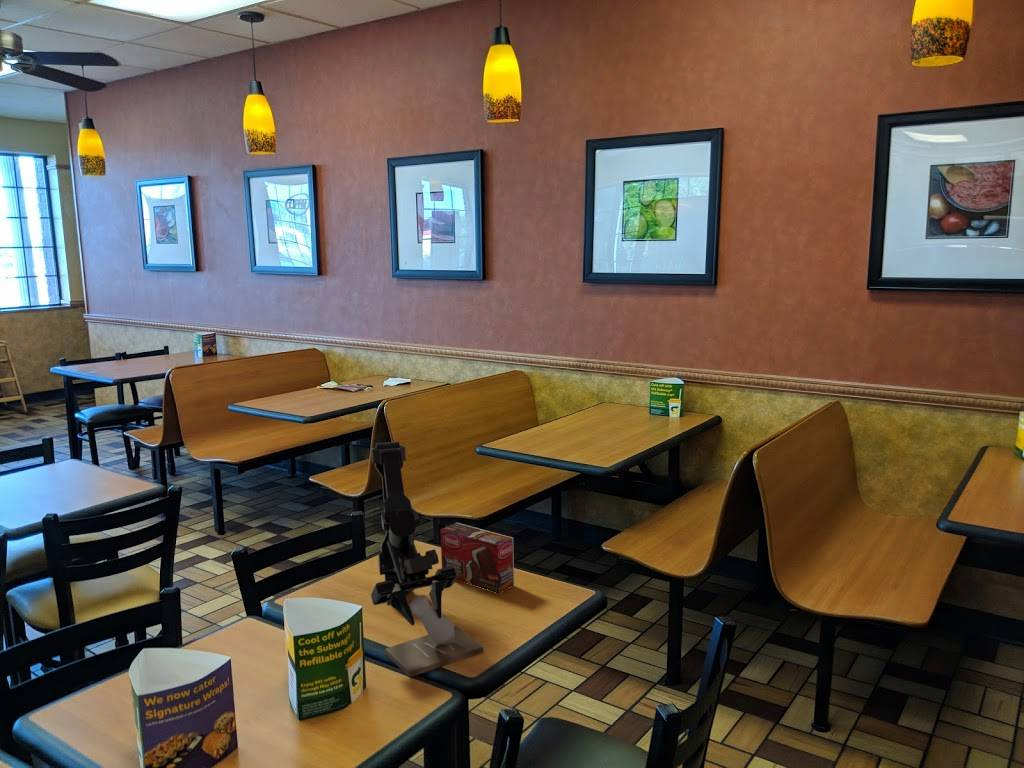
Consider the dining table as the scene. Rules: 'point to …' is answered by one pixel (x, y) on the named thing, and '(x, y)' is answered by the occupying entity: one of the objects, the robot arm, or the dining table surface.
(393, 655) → the marked board
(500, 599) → the dining table surface
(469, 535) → the ice cream box
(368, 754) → the dining table surface
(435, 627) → the salt shaker
